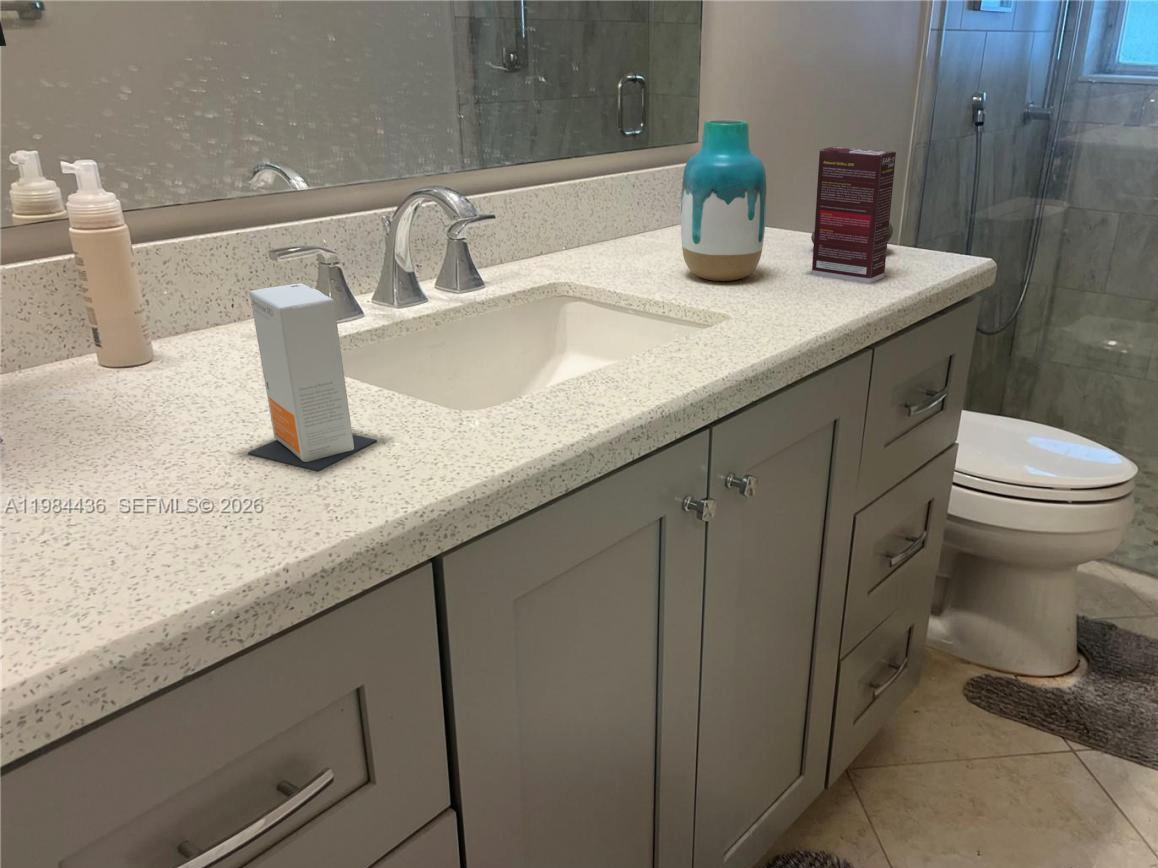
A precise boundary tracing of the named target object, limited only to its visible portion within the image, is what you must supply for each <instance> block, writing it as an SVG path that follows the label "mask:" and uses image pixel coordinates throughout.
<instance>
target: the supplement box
mask: <svg viewBox="0 0 1158 868" xmlns="http://www.w3.org/2000/svg"><path fill="white" fill-rule="evenodd" d="M896 156H897V152H896V151H891V150H890V151H889V150H878V149H876V150H875V149H867V148H866V149H865V148H852V147H844V146H843V147H842V146H841V147H840V146H830V147H825V148H822V149H819V155H818V169H817V184H816V185H817V186H816V200H815V217H814V230H813V232H814V244H813V249H812V263H811V267H812V268H811V275H814V276H820V277H824V278H825V277H826V278H831V279H832V278H833V279H838V280H844V281H851V282H856V283H863V284H873V283H875V282H877V281H879V280H881V279H883V278H885V271H886V261H887V252H888V251H887V250H888V242H889V241H888V231H889V223H890V220H891V219H890V218H891V209H892V198H893V187H894V180H895V179H894V178H895V167H896ZM887 241H888V242H887Z"/></svg>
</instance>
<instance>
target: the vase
mask: <svg viewBox="0 0 1158 868" xmlns="http://www.w3.org/2000/svg"><path fill="white" fill-rule="evenodd" d="M749 132H750V129H749V123H748V121H746V120H743V119H742V120H741V119H729V118H728V119H727V118H726V119H725V118H723V119H720V118H717V119H707V120H705V121H704V123H703V132H702V133H703V134H702V142H701V148H700V149H699V151H698V152H696V153H695V154H694V155H692V156H690V157H689V158H688V160H687V161H686V163H685V166H684V170H683V175H682V184H681V197H680V198H681V199H680V200H681V201H680V235H681V248H682V249H681V250H682V255H683V260H684V262H685V263H684V264H685V265H686V267H687V268H688V269H689V271H690V272H691V273H692V274H693V275H695V276H697V277H699V278H701V279H704V280H709V281H713V282H731V281H737V280H741V279H744V278H747V277H748V276H750V275H751V274H752V273H753V272H754V271H755V270H756V268H757V267H758V266H759V263H760V261H761V257H762V252H763V248H764V239H765V231H766V218H767V217H766V215H767V176H766V168H765V165H764V163H763V161H762V159H761V158H759V157H758V156H757V155H755V154H754V153H753V152H752V151H751V148H750V138H749V137H750V136H749V135H750V134H749Z"/></svg>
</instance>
